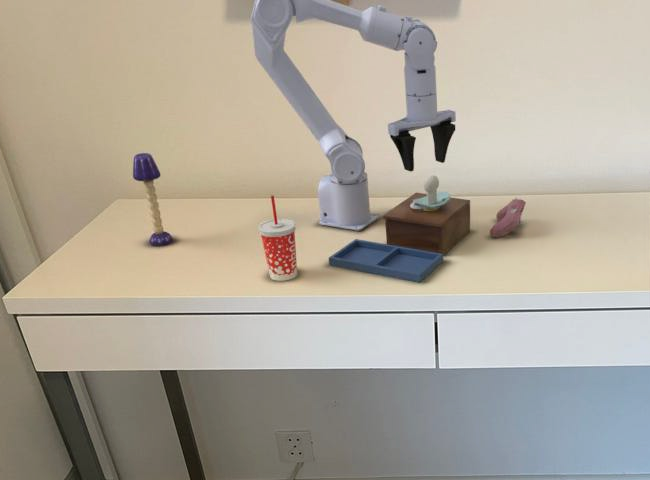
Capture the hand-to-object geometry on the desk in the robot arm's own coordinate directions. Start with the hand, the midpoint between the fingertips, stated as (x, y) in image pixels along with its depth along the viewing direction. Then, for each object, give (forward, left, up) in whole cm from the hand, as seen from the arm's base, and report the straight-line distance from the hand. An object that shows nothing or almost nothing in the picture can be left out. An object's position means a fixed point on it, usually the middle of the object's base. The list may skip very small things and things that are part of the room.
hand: (424, 165), depth 146 cm
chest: (+6, -10, -10) cm, 16 cm away
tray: (+4, -23, -10) cm, 26 cm away
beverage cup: (-10, -34, -11) cm, 37 cm away
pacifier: (+6, -11, -4) cm, 13 cm away
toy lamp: (-40, -31, -11) cm, 52 cm away
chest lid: (+6, -11, -5) cm, 13 cm away
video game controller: (+18, 0, -11) cm, 21 cm away
